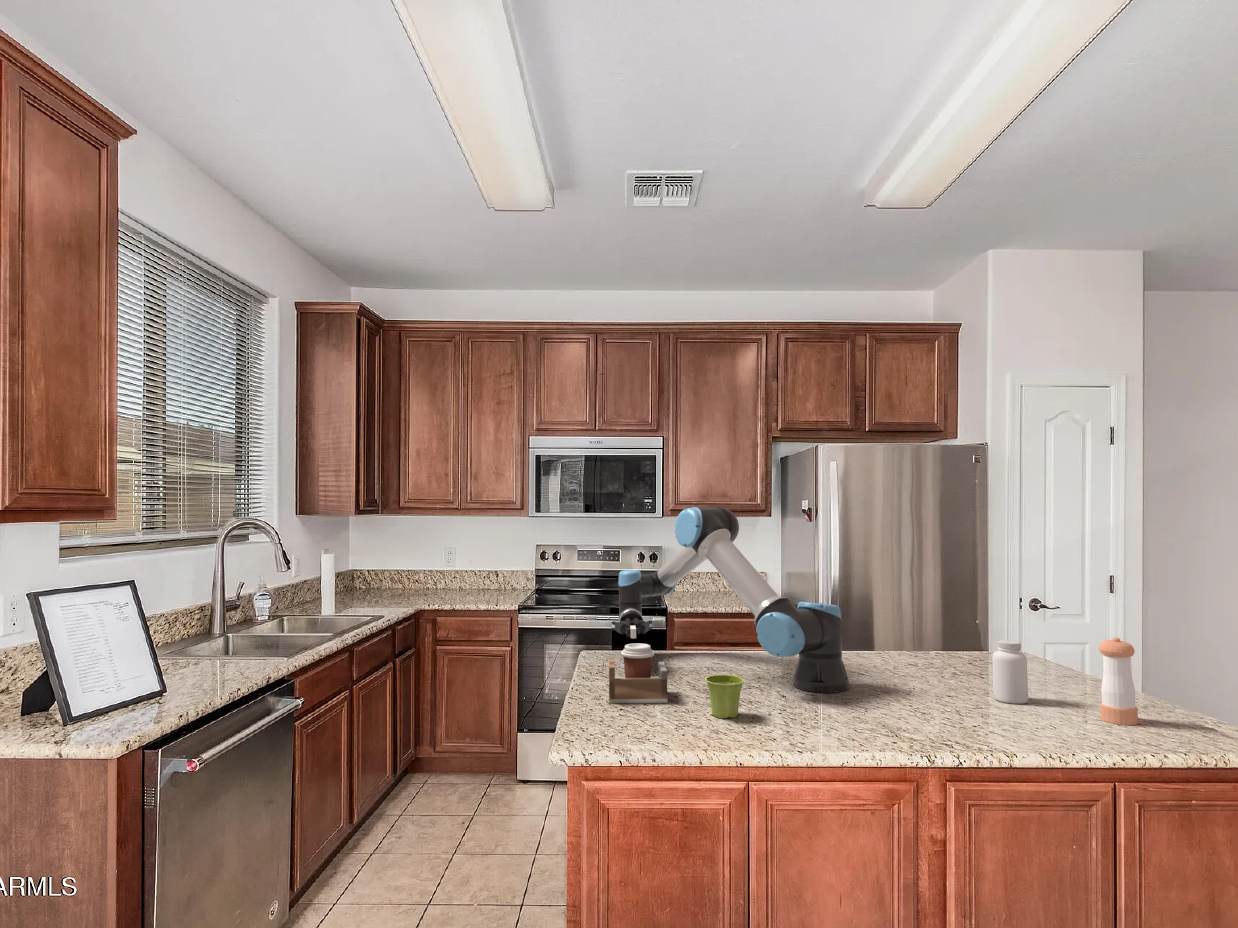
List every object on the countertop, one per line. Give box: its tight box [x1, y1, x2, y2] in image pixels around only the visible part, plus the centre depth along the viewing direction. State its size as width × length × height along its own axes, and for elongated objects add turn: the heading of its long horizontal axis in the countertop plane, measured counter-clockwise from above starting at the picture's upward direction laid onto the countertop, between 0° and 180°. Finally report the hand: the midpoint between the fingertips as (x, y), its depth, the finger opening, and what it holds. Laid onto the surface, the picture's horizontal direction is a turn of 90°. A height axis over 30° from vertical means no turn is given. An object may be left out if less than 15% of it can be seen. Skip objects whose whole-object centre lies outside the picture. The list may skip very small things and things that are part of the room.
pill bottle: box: [991, 639, 1029, 705], centre depth 194 cm, size 8×8×15 cm
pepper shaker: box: [1098, 637, 1139, 726], centre depth 176 cm, size 7×7×19 cm
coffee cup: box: [620, 642, 655, 678], centre depth 202 cm, size 9×9×12 cm
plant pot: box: [704, 674, 745, 719], centre depth 182 cm, size 9×9×9 cm
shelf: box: [608, 657, 668, 704], centre depth 206 cm, size 24×15×9 cm, turn 1°
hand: (633, 633), depth 218 cm, fingers closed
